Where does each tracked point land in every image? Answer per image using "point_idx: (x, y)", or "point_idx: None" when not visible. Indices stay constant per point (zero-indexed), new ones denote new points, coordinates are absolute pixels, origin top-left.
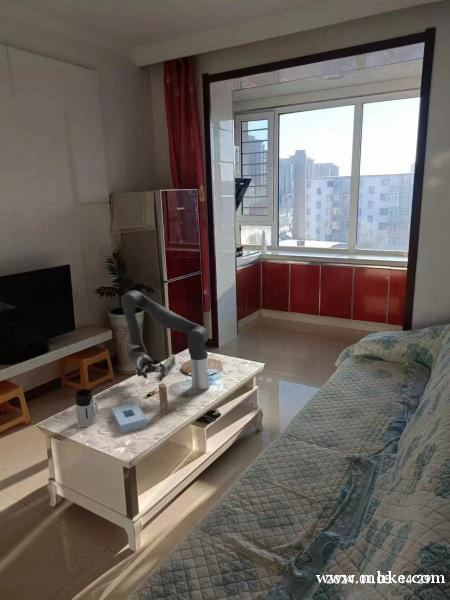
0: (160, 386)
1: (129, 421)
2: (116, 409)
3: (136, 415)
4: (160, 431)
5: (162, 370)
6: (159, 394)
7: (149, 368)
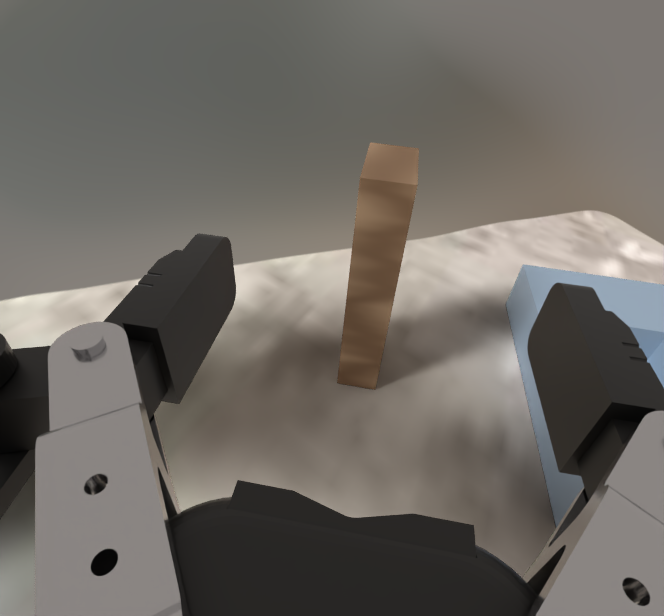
0: (416, 161)
1: (632, 290)
2: None
3: None
4: (452, 253)
5: (188, 251)
6: (397, 277)
7: (402, 561)
